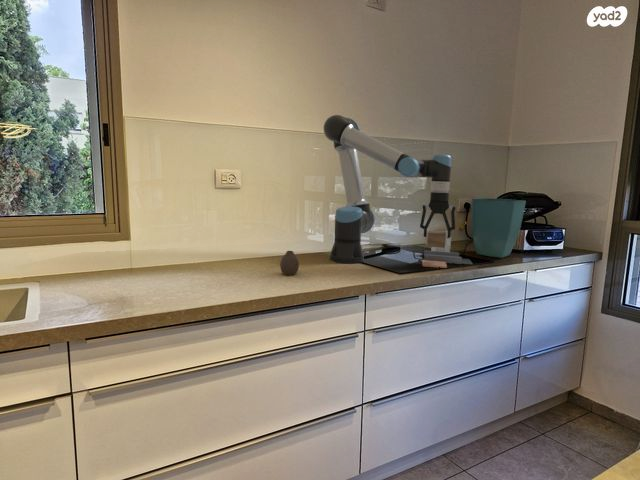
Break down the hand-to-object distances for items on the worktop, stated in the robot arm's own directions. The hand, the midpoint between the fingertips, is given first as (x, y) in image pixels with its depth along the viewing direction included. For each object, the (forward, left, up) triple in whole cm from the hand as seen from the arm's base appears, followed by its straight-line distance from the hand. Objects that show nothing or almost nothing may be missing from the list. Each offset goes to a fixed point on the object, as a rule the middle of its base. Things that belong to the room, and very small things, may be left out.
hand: (436, 244), depth 180 cm
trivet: (0, 0, -9) cm, 9 cm away
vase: (-54, -39, -9) cm, 68 cm away
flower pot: (+31, +38, -9) cm, 49 cm away
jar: (+4, +26, -9) cm, 27 cm away
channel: (+4, +13, -9) cm, 16 cm away
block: (0, +1, 0) cm, 1 cm away
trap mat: (+14, +13, -9) cm, 21 cm away
